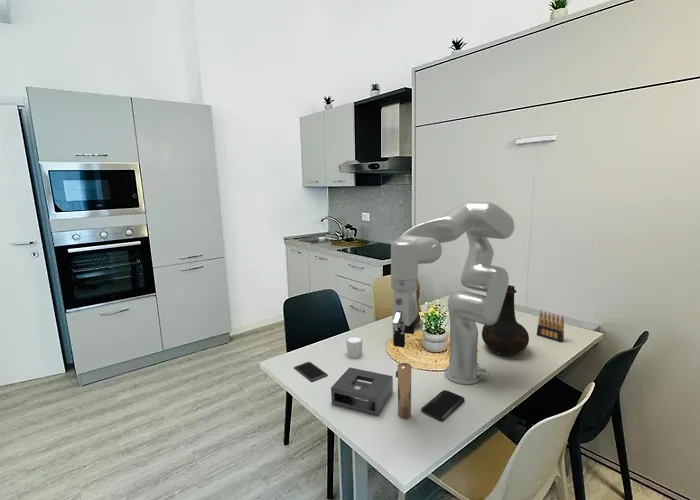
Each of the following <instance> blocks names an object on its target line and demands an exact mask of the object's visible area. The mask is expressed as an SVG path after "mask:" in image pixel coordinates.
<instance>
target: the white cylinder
mask: <svg viewBox="0 0 700 500" xmlns="http://www.w3.org/2000/svg"><path fill="white" fill-rule="evenodd" d="M345 345H346V349H347V356H348V358H350V359H360V358H362V352H363V338H362V337H361V336H357V335H356V336H355V335H353V336H348V337H347V338H346V339H345Z"/></svg>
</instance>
